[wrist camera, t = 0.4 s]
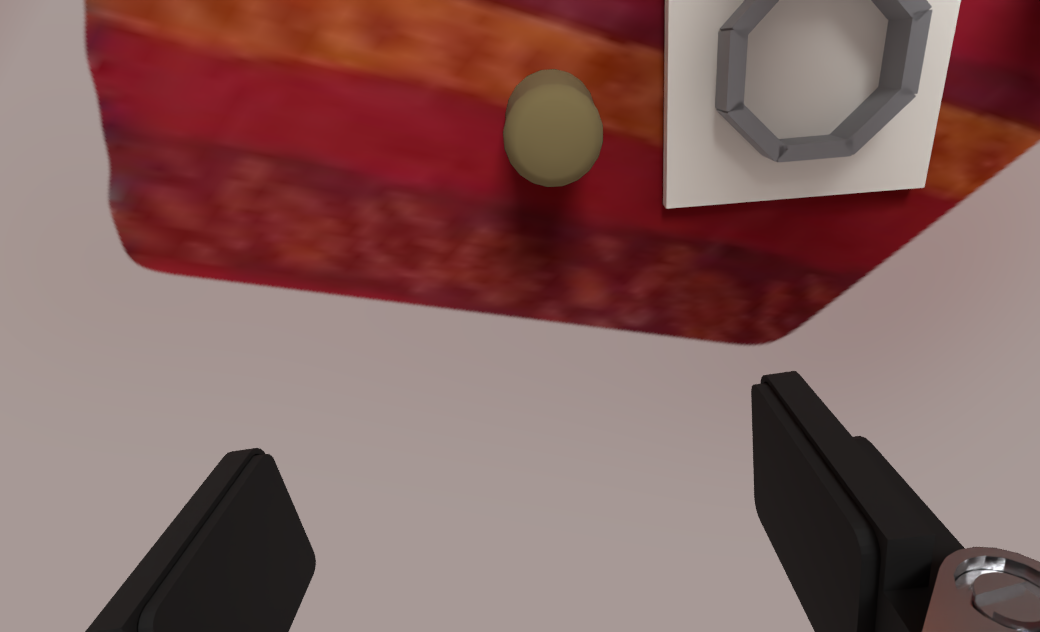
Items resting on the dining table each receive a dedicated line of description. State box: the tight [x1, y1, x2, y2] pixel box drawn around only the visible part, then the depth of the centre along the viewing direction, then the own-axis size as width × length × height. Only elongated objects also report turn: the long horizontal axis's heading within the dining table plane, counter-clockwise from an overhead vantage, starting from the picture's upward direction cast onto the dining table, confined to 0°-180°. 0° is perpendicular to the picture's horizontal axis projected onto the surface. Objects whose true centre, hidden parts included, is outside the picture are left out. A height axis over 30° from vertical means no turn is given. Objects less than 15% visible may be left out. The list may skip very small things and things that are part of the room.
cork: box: [503, 69, 603, 187], centre depth 34 cm, size 6×6×11 cm
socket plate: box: [663, 0, 961, 209], centre depth 35 cm, size 17×17×4 cm
